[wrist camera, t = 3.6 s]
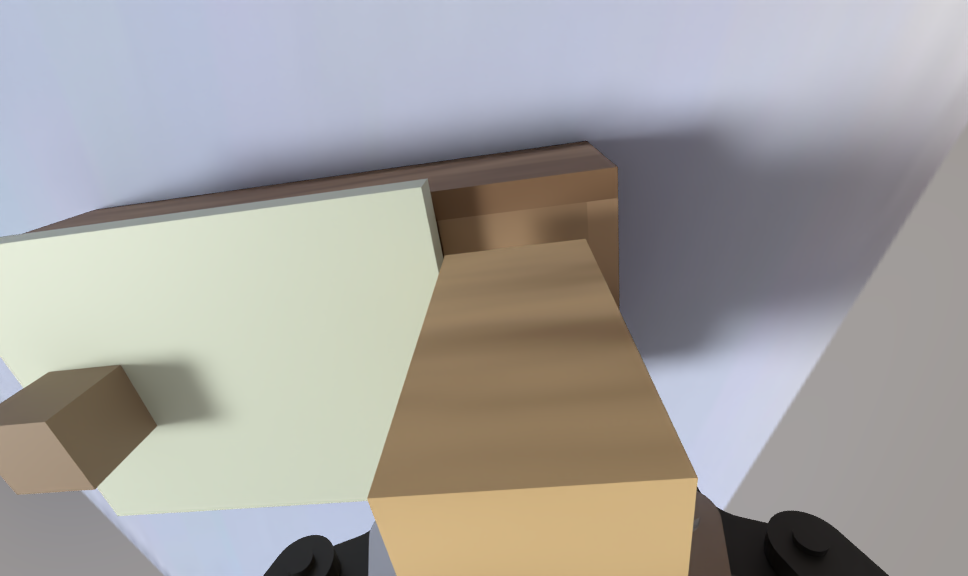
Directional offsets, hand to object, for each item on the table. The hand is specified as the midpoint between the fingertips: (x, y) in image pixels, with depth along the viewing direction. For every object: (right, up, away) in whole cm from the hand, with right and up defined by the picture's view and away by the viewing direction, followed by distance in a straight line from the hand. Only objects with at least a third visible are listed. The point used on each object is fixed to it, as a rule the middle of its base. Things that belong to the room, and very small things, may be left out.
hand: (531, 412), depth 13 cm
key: (0, +1, +2) cm, 2 cm away
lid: (-11, 0, +5) cm, 12 cm away
